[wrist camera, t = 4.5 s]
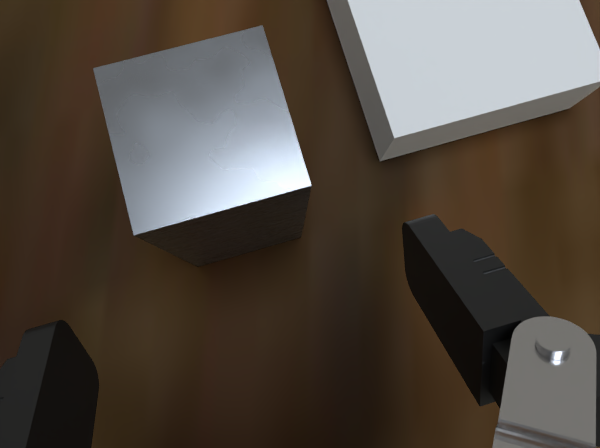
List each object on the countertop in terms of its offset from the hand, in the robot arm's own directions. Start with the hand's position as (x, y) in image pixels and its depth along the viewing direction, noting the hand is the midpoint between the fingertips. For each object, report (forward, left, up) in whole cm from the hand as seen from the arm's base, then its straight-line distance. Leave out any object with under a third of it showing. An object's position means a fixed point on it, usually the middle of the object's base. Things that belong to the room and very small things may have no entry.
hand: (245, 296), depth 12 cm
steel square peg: (0, +4, -9) cm, 10 cm away
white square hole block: (+11, +13, -9) cm, 20 cm away
